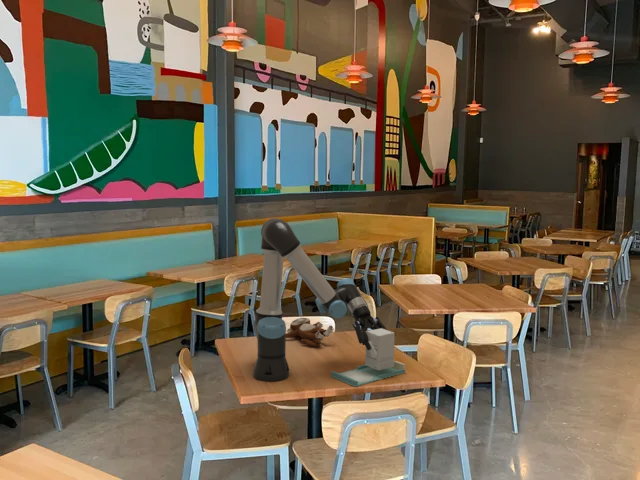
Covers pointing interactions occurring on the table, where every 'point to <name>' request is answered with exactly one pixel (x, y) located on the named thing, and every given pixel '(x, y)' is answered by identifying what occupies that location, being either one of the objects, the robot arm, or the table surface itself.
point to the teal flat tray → (368, 374)
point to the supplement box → (380, 349)
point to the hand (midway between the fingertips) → (383, 353)
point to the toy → (308, 331)
